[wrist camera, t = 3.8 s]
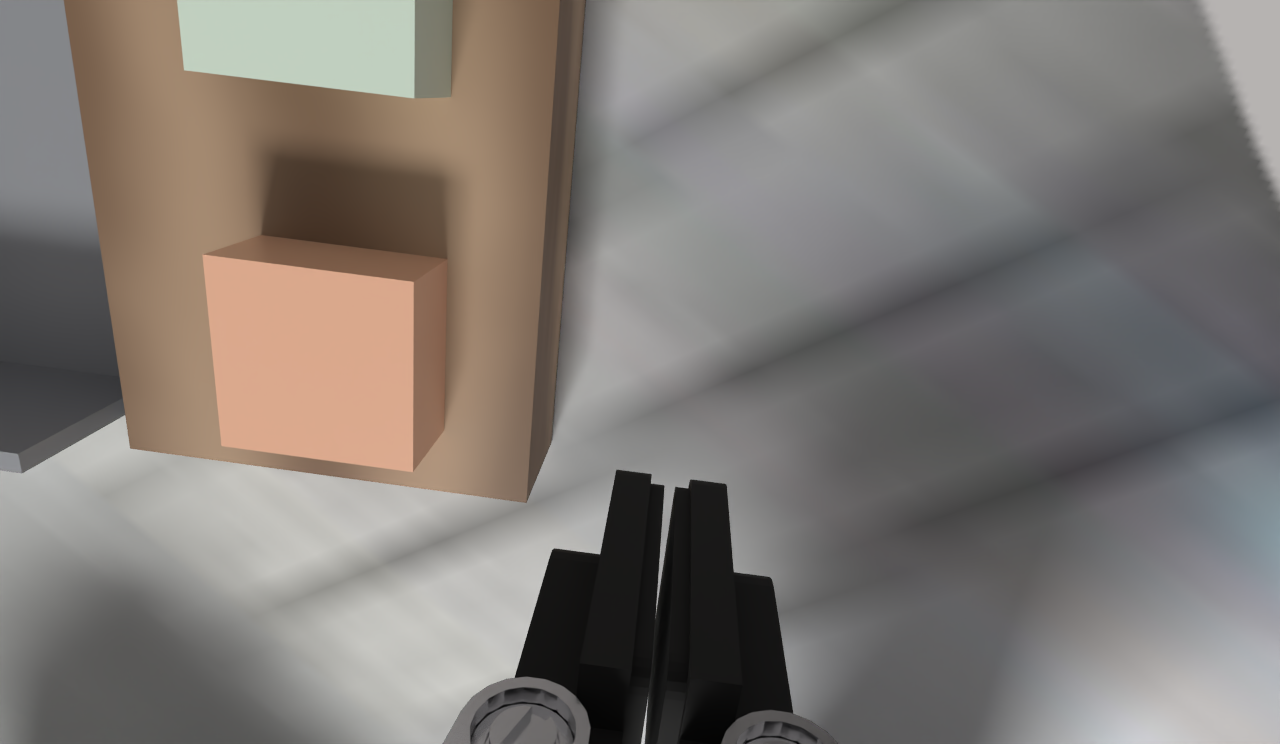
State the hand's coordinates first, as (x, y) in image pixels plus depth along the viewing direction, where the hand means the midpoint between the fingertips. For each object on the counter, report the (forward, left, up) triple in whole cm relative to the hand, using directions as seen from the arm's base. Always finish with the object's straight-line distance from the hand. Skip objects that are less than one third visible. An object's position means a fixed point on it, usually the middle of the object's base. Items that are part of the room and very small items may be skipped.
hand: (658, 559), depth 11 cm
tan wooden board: (+10, -4, -13) cm, 17 cm away
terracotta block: (+9, +1, -9) cm, 13 cm away
